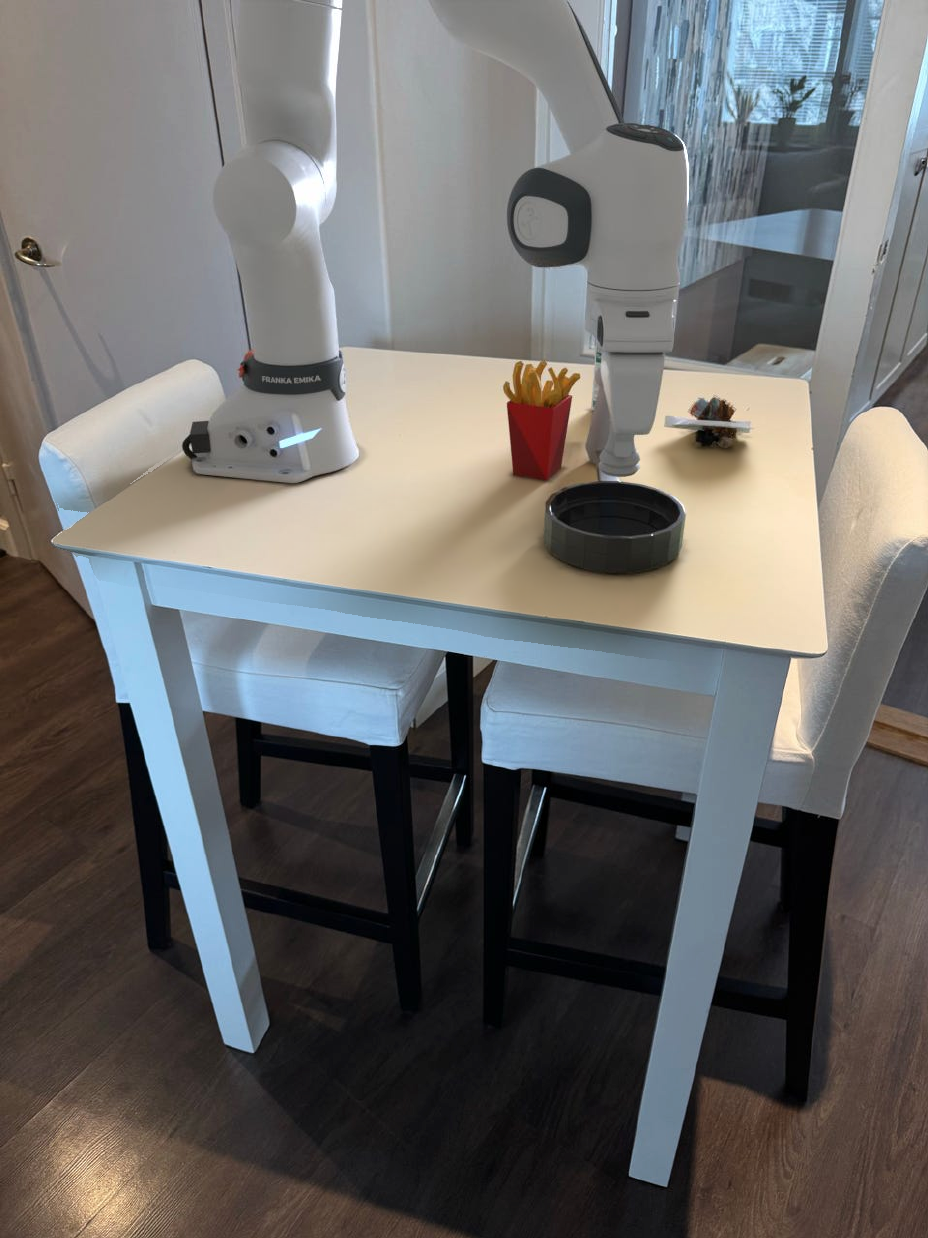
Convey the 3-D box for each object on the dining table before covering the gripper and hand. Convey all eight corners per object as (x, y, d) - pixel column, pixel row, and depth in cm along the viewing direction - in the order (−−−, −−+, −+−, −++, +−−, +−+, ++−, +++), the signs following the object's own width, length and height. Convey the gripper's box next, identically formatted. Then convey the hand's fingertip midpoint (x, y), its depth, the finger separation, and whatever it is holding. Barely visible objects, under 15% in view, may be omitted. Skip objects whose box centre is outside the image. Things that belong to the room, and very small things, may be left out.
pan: (544, 575, 97) (545, 536, 94) (543, 514, 110) (544, 479, 107) (689, 578, 96) (694, 539, 94) (671, 517, 109) (675, 481, 106)
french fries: (524, 458, 125) (527, 348, 118) (581, 468, 122) (587, 356, 114) (496, 481, 119) (497, 365, 111) (555, 492, 115) (560, 374, 108)
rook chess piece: (595, 476, 97) (600, 402, 93) (600, 461, 101) (605, 389, 96) (638, 479, 96) (645, 405, 92) (641, 464, 100) (647, 391, 96)
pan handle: (599, 490, 108) (600, 480, 107) (594, 459, 116) (595, 450, 116) (618, 490, 108) (619, 481, 107) (612, 459, 116) (612, 450, 116)
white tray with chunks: (675, 445, 123) (682, 391, 122) (657, 442, 135) (662, 393, 133) (763, 451, 124) (771, 397, 122) (737, 448, 135) (744, 399, 133)
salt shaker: (626, 471, 121) (634, 373, 114) (582, 468, 122) (588, 371, 115) (628, 455, 126) (636, 361, 119) (586, 453, 127) (592, 359, 120)
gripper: (592, 289, 99) (585, 414, 106) (605, 338, 81) (595, 483, 89) (651, 289, 98) (640, 414, 106) (677, 338, 81) (661, 484, 88)
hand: (620, 446), depth 97 cm, fingers closed on rook chess piece, 3 cm apart
